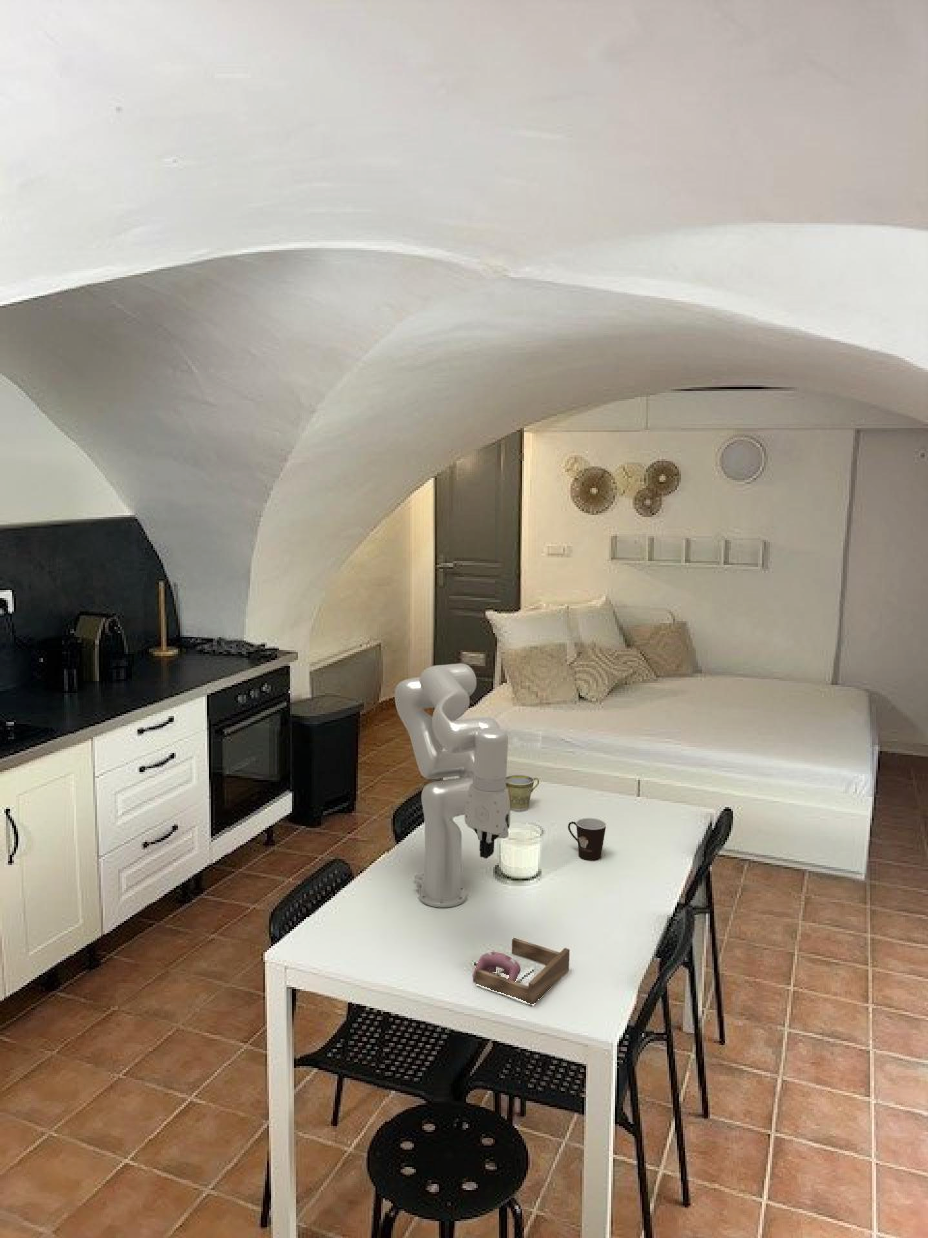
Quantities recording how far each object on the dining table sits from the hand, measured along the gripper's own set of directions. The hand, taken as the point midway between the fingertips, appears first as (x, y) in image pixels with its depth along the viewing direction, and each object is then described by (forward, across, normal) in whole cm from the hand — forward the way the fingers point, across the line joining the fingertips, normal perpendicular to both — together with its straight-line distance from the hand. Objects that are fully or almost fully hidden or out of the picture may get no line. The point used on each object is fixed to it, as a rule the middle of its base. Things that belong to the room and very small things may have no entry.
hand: (486, 855), depth 213 cm
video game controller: (+22, +12, -13) cm, 28 cm away
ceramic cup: (+26, -37, +80) cm, 92 cm away
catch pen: (+21, +16, -8) cm, 28 cm away
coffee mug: (+24, -2, +59) cm, 64 cm away
